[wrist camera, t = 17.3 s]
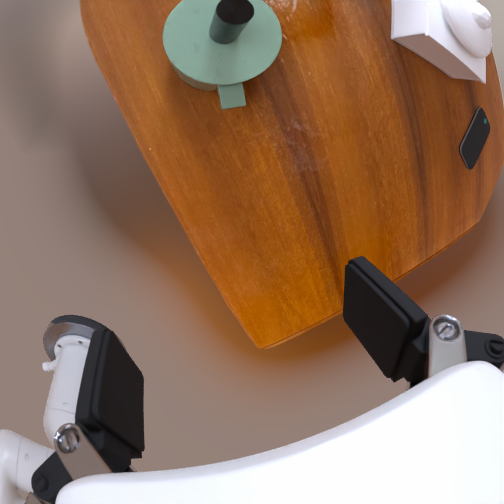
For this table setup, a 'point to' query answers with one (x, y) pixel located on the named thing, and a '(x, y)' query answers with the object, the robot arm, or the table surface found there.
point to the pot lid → (222, 39)
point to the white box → (445, 34)
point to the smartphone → (475, 138)
